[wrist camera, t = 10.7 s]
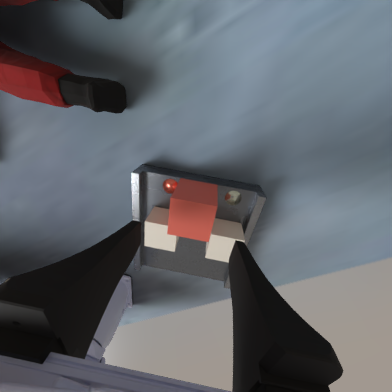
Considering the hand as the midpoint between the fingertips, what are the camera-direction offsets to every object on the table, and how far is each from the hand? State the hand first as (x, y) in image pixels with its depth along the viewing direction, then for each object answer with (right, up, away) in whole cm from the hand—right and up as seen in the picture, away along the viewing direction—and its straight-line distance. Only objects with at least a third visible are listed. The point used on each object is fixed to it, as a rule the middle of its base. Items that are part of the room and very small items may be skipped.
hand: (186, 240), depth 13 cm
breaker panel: (0, -1, +11) cm, 11 cm away
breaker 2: (+4, -1, +8) cm, 9 cm away
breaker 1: (-3, 0, +8) cm, 9 cm away
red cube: (+1, +3, +6) cm, 7 cm away
